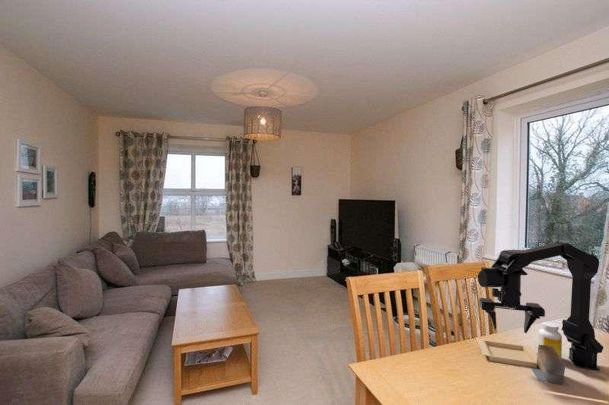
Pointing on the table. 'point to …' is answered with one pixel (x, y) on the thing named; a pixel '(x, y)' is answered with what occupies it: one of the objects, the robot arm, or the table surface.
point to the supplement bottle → (551, 337)
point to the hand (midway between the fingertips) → (509, 330)
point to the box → (550, 364)
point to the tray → (508, 353)
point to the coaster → (541, 377)
